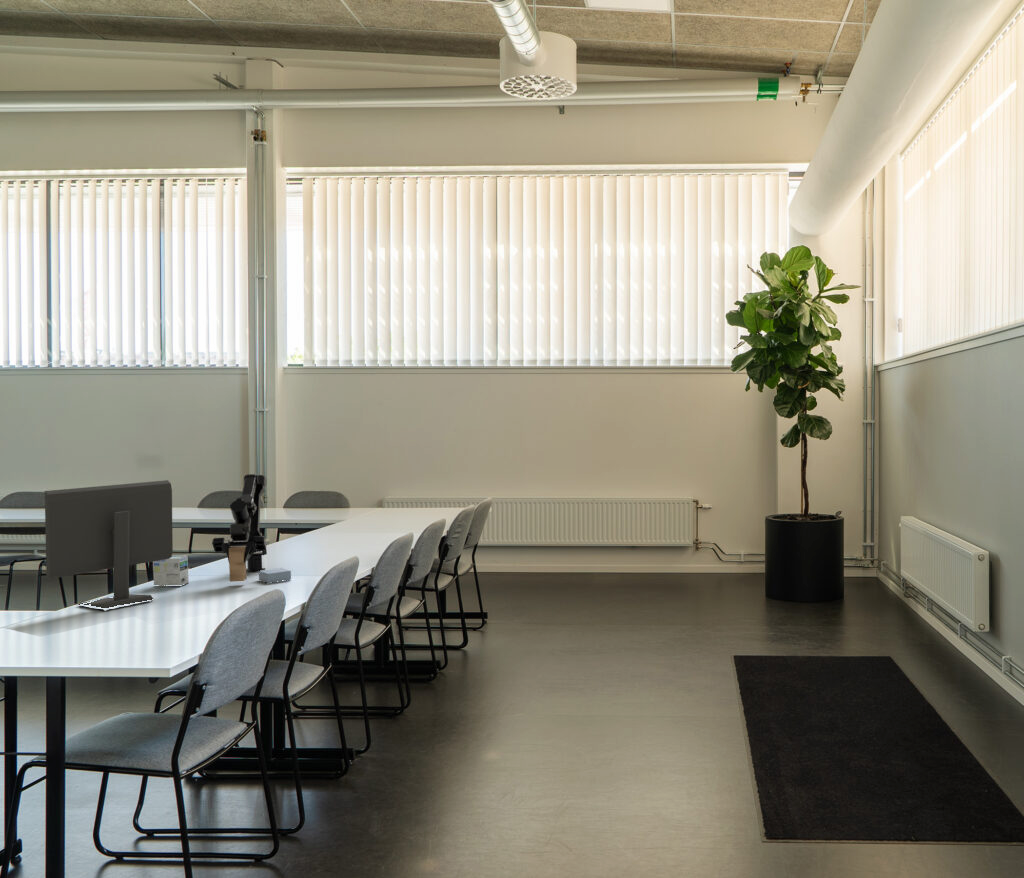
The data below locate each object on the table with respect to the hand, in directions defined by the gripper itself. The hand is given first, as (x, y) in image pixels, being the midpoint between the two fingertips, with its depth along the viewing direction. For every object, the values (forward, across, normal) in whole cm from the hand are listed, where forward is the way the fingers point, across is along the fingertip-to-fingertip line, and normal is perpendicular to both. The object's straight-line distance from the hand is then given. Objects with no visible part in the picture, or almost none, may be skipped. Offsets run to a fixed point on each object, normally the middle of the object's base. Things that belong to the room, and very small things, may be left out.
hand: (236, 562), depth 329 cm
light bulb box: (+1, -26, +12) cm, 28 cm away
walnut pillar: (+4, 0, +6) cm, 7 cm away
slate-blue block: (0, +12, +13) cm, 17 cm away
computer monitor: (+22, -35, -10) cm, 43 cm away
